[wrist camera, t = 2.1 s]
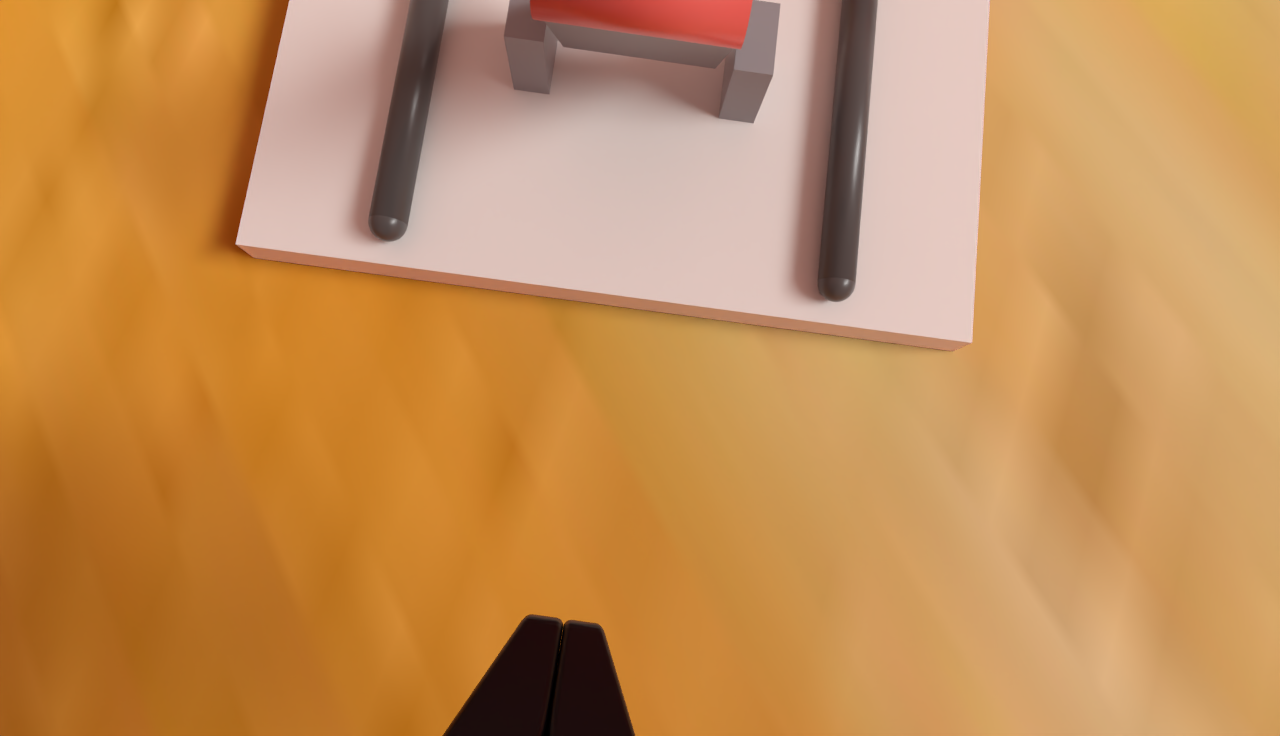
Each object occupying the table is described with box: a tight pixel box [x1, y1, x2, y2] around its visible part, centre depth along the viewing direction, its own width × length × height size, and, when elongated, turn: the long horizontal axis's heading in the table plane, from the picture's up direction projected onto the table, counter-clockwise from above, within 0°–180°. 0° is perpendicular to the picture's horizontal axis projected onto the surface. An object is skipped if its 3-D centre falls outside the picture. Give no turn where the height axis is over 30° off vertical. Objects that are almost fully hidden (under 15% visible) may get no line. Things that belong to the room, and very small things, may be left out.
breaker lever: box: [530, 0, 753, 69], centre depth 18 cm, size 2×4×7 cm, turn 83°
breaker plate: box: [236, 0, 990, 351], centre depth 22 cm, size 12×20×4 cm, turn 83°
